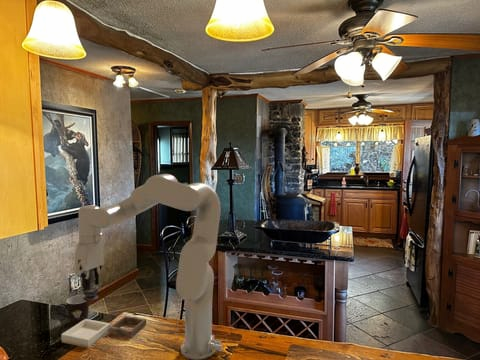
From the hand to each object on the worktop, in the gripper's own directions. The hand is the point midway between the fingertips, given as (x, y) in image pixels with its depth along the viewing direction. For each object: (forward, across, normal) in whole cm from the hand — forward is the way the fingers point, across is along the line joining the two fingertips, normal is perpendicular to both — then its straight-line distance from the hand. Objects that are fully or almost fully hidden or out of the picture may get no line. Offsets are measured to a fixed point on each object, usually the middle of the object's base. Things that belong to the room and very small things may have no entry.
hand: (90, 285), depth 123 cm
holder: (+20, -9, +10) cm, 24 cm away
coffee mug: (+20, -5, -14) cm, 25 cm away
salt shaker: (+5, 0, 0) cm, 5 cm away
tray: (+20, +1, -1) cm, 20 cm away
